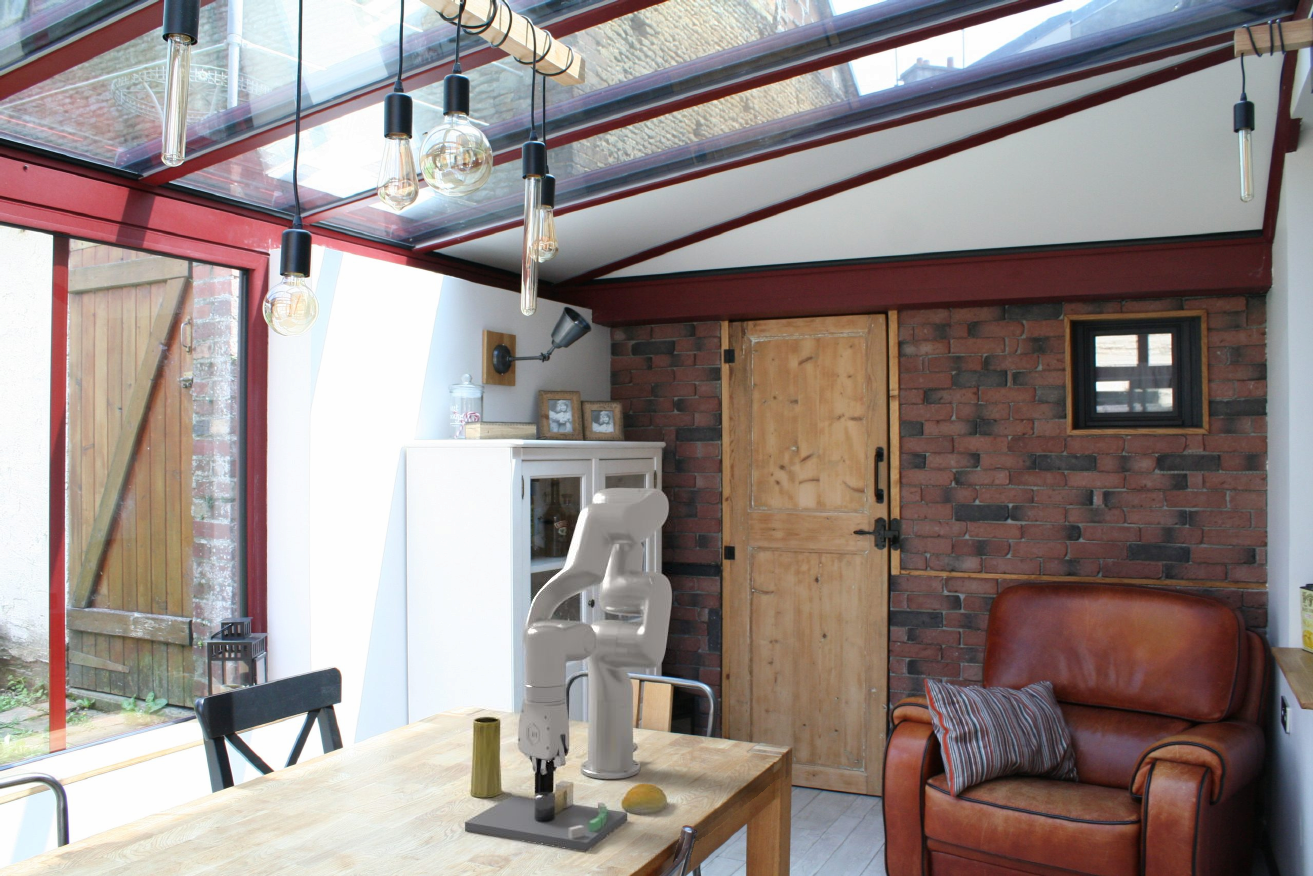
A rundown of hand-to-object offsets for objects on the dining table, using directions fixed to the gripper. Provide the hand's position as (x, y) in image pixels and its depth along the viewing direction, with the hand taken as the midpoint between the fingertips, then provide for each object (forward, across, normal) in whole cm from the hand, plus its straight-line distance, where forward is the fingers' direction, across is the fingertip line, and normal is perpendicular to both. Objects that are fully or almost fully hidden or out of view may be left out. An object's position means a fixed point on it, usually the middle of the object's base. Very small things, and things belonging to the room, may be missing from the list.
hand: (544, 793), depth 182 cm
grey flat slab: (+4, +6, -4) cm, 8 cm away
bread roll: (+4, +11, +16) cm, 19 cm away
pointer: (+2, +5, -2) cm, 6 cm away
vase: (+4, -17, -1) cm, 17 cm away
